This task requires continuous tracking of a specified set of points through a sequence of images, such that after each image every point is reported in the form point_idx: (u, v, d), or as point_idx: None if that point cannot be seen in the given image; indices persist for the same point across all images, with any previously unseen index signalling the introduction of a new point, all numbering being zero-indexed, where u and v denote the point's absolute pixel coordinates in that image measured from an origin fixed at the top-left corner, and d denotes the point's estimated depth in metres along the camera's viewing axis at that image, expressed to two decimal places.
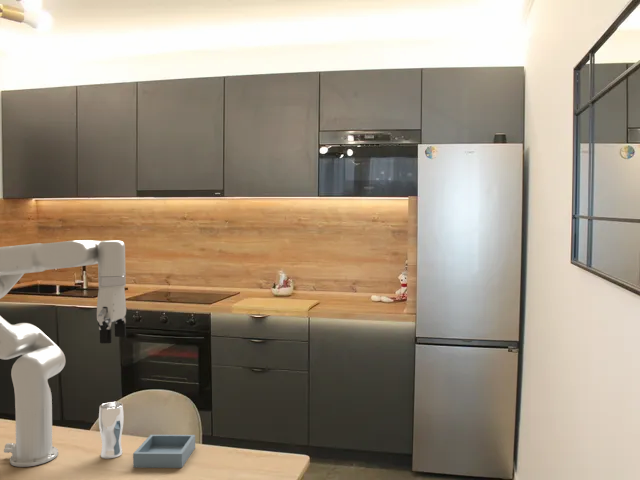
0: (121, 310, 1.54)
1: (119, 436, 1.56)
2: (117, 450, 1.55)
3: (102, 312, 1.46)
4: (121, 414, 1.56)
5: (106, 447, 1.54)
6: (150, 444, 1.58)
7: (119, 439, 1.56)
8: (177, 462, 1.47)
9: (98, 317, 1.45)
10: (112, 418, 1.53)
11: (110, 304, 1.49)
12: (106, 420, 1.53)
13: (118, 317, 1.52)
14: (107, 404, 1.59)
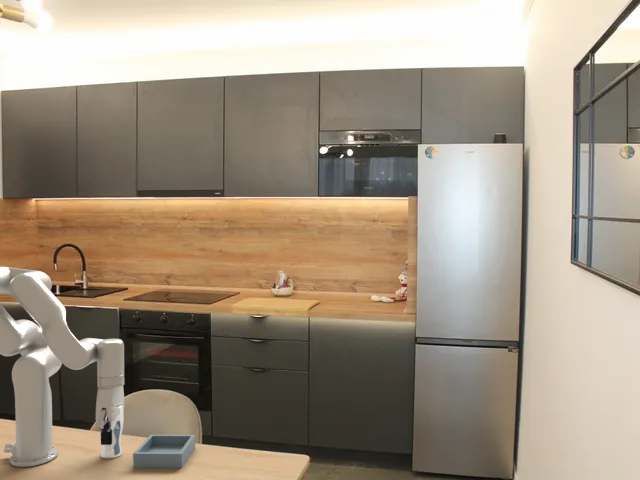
0: None
1: (119, 436, 1.56)
2: (117, 450, 1.55)
3: (102, 417, 1.50)
4: (121, 414, 1.56)
5: (106, 447, 1.54)
6: (150, 444, 1.58)
7: (119, 439, 1.56)
8: (177, 462, 1.47)
9: (99, 424, 1.49)
10: None
11: (109, 406, 1.52)
12: None
13: None
14: None
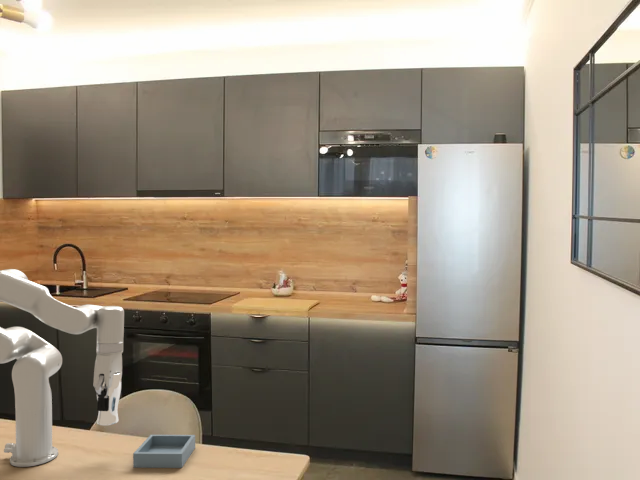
0: None
1: (116, 403, 1.56)
2: (113, 417, 1.55)
3: (99, 383, 1.50)
4: (119, 381, 1.56)
5: (102, 414, 1.54)
6: (150, 444, 1.58)
7: (116, 406, 1.56)
8: (177, 462, 1.47)
9: (96, 389, 1.49)
10: None
11: (107, 372, 1.51)
12: (103, 386, 1.53)
13: None
14: None
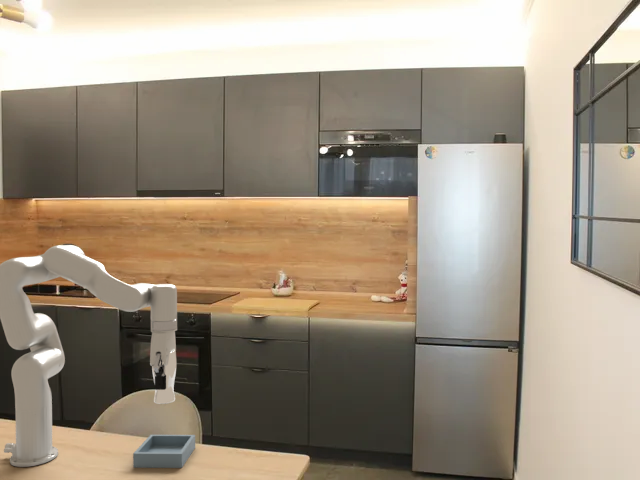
0: None
1: (172, 382, 1.54)
2: (170, 396, 1.53)
3: (157, 361, 1.48)
4: (174, 359, 1.54)
5: (160, 392, 1.52)
6: (150, 444, 1.58)
7: (172, 385, 1.54)
8: (177, 462, 1.47)
9: (154, 367, 1.47)
10: None
11: (163, 349, 1.49)
12: (160, 364, 1.51)
13: None
14: None
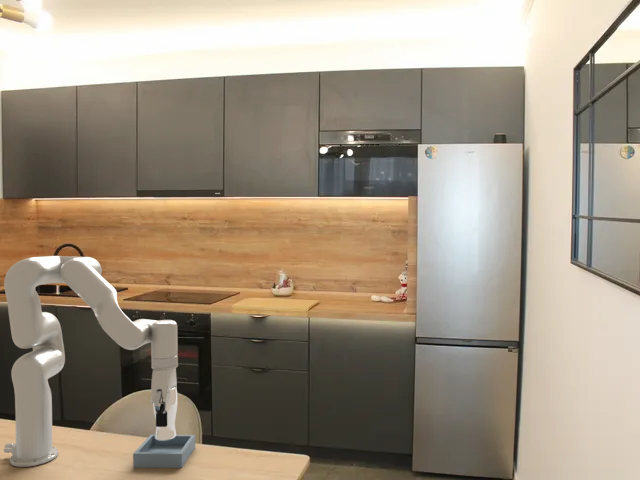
0: None
1: (173, 418, 1.54)
2: (172, 432, 1.53)
3: (158, 398, 1.48)
4: (175, 396, 1.54)
5: (161, 429, 1.52)
6: (150, 444, 1.58)
7: (173, 421, 1.54)
8: (177, 462, 1.47)
9: (155, 405, 1.47)
10: None
11: (164, 387, 1.49)
12: (161, 401, 1.51)
13: None
14: None
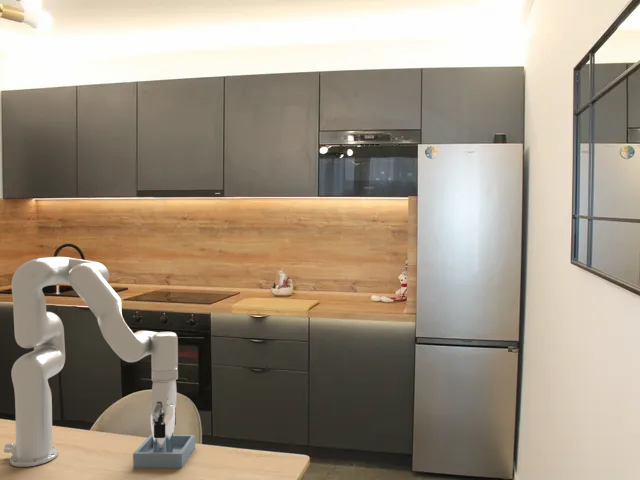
0: (173, 401, 1.55)
1: (171, 436, 1.53)
2: (169, 450, 1.52)
3: (157, 408, 1.47)
4: (173, 413, 1.53)
5: (158, 447, 1.51)
6: (150, 444, 1.58)
7: (171, 439, 1.53)
8: (177, 462, 1.47)
9: (154, 414, 1.46)
10: (165, 417, 1.51)
11: (164, 399, 1.50)
12: None
13: None
14: None
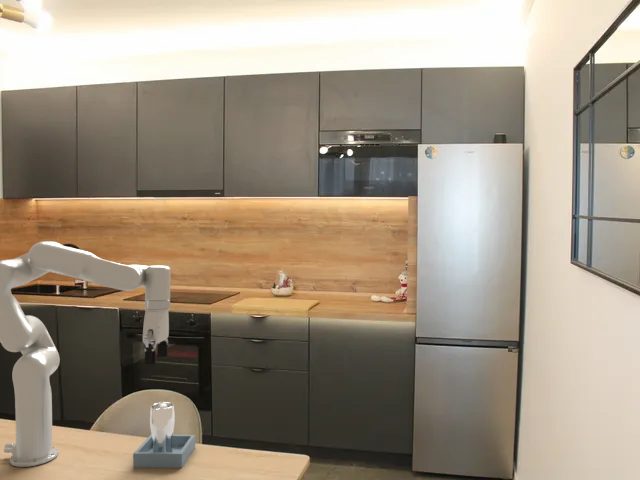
0: (165, 332, 1.61)
1: (170, 437, 1.52)
2: (169, 451, 1.52)
3: (148, 335, 1.54)
4: (172, 414, 1.52)
5: (158, 448, 1.50)
6: (150, 444, 1.58)
7: (170, 440, 1.52)
8: (177, 462, 1.47)
9: (145, 339, 1.52)
10: (164, 419, 1.50)
11: (155, 327, 1.56)
12: (158, 420, 1.50)
13: (162, 339, 1.60)
14: (157, 404, 1.55)
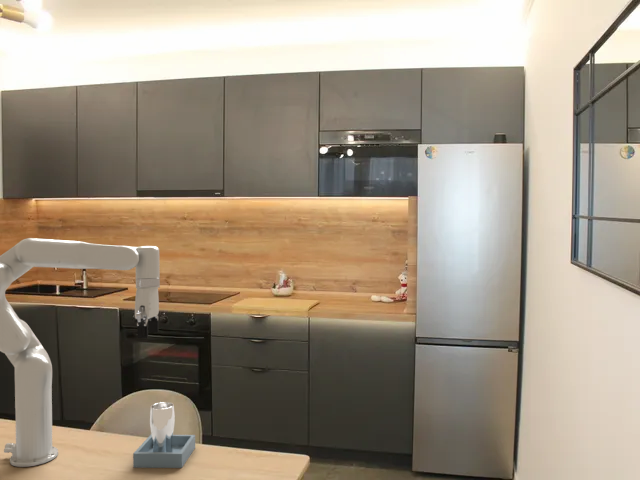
0: (155, 308, 1.72)
1: (170, 437, 1.52)
2: (169, 451, 1.52)
3: (140, 310, 1.64)
4: (172, 415, 1.52)
5: (158, 448, 1.50)
6: (150, 444, 1.58)
7: (170, 440, 1.52)
8: (177, 462, 1.47)
9: (137, 315, 1.62)
10: (164, 419, 1.50)
11: (147, 303, 1.66)
12: (158, 420, 1.50)
13: (153, 315, 1.70)
14: (157, 404, 1.55)
